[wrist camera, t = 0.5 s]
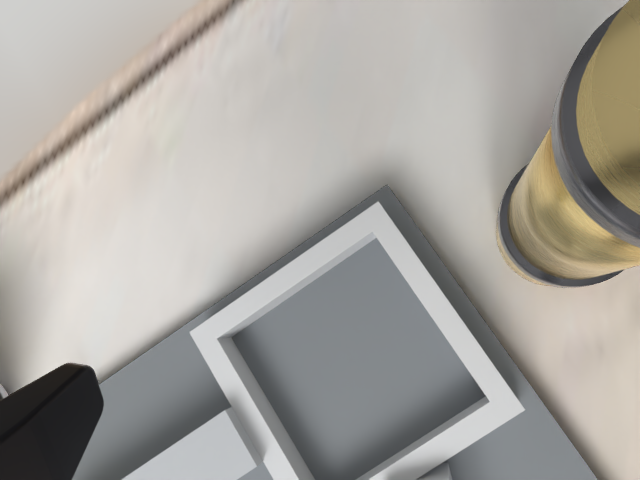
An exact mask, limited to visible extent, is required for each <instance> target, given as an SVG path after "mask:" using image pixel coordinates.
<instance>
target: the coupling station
mask: <svg viewBox="0 0 640 480" xmlns="http://www.w3.org/2000/svg"><path fill="white" fill-rule="evenodd" d="M99 387H100V390H101V393H102V396H103V399H104V407H103V412H102V415H101V417H100V419H99V422H98V424H97V426H96V428H95V430H94V433H93V435H92V437H91V439H90V441H89V444H88V446H87V448H86V450H85V452H84V455H83V457H82V459H81V461H80V463H79V466H78V468H77V470H76V472H75V474H74V476H73V479H72V480H598V479H597V478H596V476H595V475H594V473H593V472H592V471H591V469H590V468H589V466H588V465H587V464H586V462H585V461H584V459H583V458H582V457H581V455H580V454H579V452H578V451H577V450H576V448H575V447H574V445H573V444H572V443H571V441H570V440H569V438H568V437H567V436H566V434H565V433H564V431H563V430H562V429H561V427H560V426H559V424H558V423H557V422H556V420H555V419H554V417H553V416H552V415H551V413H550V412H549V410H548V409H547V408H546V406H545V405H544V403H543V402H542V401H541V399H540V398H539V396H538V395H537V394H536V392H535V391H534V389H533V388H532V387H531V385H530V384H529V382H528V381H527V380H526V378H525V377H524V375H523V374H522V373H521V371H520V370H519V368H518V367H517V366H516V364H515V363H514V361H513V360H512V359H511V357H510V356H509V354H508V353H507V352H506V350H505V349H504V347H503V346H502V345H501V343H500V342H499V340H498V339H497V338H496V336H495V335H494V333H493V332H492V331H491V329H490V328H489V326H488V325H487V324H486V322H485V321H484V319H483V318H482V317H481V315H480V314H479V312H478V311H477V310H476V308H475V307H474V305H473V304H472V303H471V301H470V300H469V298H468V297H467V296H466V294H465V293H464V291H463V290H462V289H461V287H460V286H459V284H458V283H457V282H456V280H455V279H454V277H453V276H452V275H451V273H450V272H449V270H448V269H447V268H446V266H445V265H444V263H443V262H442V261H441V259H440V258H439V256H438V255H437V254H436V252H435V251H434V249H433V248H432V247H431V245H430V244H429V242H428V241H427V240H426V238H425V237H424V235H423V234H422V233H421V231H420V230H419V228H418V227H417V226H416V224H415V223H414V221H413V220H412V219H411V217H410V216H409V214H408V213H407V212H406V210H405V209H404V207H403V206H402V205H401V203H400V202H399V200H398V199H397V198H396V196H395V195H394V193H393V192H392V191H391V189H390V188H389V186H388V185H386V186H384V187H383V188H381V189H380V190H378V191H377V192H376V193H374V194H373V195H371V196H370V197H368V198H367V199H365V200H364V201H363V202H361V203H360V204H358V205H357V206H355V207H354V208H352V209H351V210H350V211H348V212H347V213H345V214H344V215H342V216H341V217H340V218H338V219H337V220H335V221H334V222H332V223H331V224H329V225H328V226H327V227H325V228H324V229H322V230H321V231H319V232H318V233H316V234H315V235H314V236H312V237H311V238H309V239H308V240H306V241H305V242H304V243H302V244H301V245H299V246H298V247H296V248H295V249H293V250H292V251H291V252H289V253H288V254H286V255H285V256H283V257H282V258H280V259H279V260H278V261H276V262H275V263H273V264H272V265H270V266H269V267H268V268H266V269H265V270H263V271H262V272H260V273H259V274H257V275H256V276H255V277H253V278H252V279H250V280H249V281H247V282H246V283H244V284H243V285H242V286H240V287H239V288H237V289H236V290H234V291H233V292H232V293H230V294H229V295H227V296H226V297H224V298H223V299H221V300H220V301H219V302H217V303H216V304H214V305H213V306H211V307H210V308H208V309H207V310H206V311H204V312H203V313H201V314H200V315H198V316H197V317H196V318H194V319H193V320H191V321H190V322H188V323H187V324H185V325H184V326H183V327H181V328H180V329H178V330H177V331H175V332H174V333H172V334H171V335H170V336H168V337H167V338H165V339H164V340H162V341H161V342H160V343H158V344H157V345H155V346H154V347H152V348H151V349H149V350H148V351H147V352H145V353H144V354H142V355H141V356H139V357H138V358H137V359H135V360H134V361H132V362H131V363H129V364H128V365H126V366H125V367H124V368H122V369H121V370H119V371H118V372H116V373H115V374H113V375H112V376H111V377H109V378H108V379H106V380H105V381H103V382H102V383H101V384H99Z"/></svg>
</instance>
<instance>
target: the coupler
mask: <svg viewBox="0 0 640 480" xmlns="http://www.w3.org/2000/svg"><path fill="white" fill-rule="evenodd" d="M496 234H497V243H498V247H499V250H500V252H501V254H502V256H503V258H504V260H505V261H506V263H507V264H508V265H509V266H510V267H511V269H513V270H514V271H515V272H516V273H517V274H518V275H520V276H521V277H523V278H525V279H527V280H528V281H531V282H534V283H536V284H540V285H546V286H555V287H562V288H576V287H584V286H588V285H593V284H596V283H600V282H603V281H606V280H608V279H610V278H612V277H614V276H616V275H618V274H619V273H620V272H622V271H623V270H624V269H627V268H631V267H635V266H639V265H640V0H629V1H628V2H627V3H626V4H625V5H624V6H623V7H622V8H620V9H619V10H618V11H617V12H615V13H614V14H613V15H611V16H610V17H609V18H608V19H606V20H605V21H604V22H603V23H602V25H601V26H600V27H599V28H598V29H597V30H596V31H595V32H594V33H593V34H592V35H591V37H590V38H589V39H588V41H587V42H586V43H585V45H584V46H583V48H582V49H581V51H580V53H579V55H578V56H577V58H576V60H575V62H574V64H573V66H572V67H571V69H570V71H569V73H568V75H567V77H566V79H565V81H564V83H563V84H562V87H561V89H560V92H559V94H558V97H557V99H556V103H555V107H554V111H553V116H552V125H551V127H550V129H549V130H548V132H547V134H546V136H545V137H544V139H543V141H542V142H541V144H540V146H539V147H538V149H537V151H536V153H535V154H534V156H533V158H532V159H531V161H530V163H529V164H528V165H526V166H525V167H524V168H523V169H522V170H521V171H520V172H519V173H518V174H517V175H516V176H515V177H514V179H513V180H512V181H511V183H510V185H509V186H508V188H507V190H506V192H505V194H504V196H503V198H502V201H501V203H500V207H499V211H498V222H497V230H496Z"/></svg>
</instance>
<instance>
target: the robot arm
mask: <svg viewBox="0 0 640 480" xmlns="http://www.w3.org/2000/svg"><path fill="white" fill-rule="evenodd" d="M103 407H104V399H103V396H102V393H101V390H100V387H99V384H98V381H97V377H96V374H95V372H94V370H93V368H91V367H90V366H88V365H83V364H76V363H66V364H64V365H62V366H60V367H58V368H56V369H55V370H53V371H51V372H49V373H48V374H46V375H44V376H42V377H40V378H39V379H37V380H35V381H33V382H32V383H30V384H28V385H26V386H24V387H23V388H21V389H19V390H17V391H16V392H14V393H12V394H10V395H9V396H7V397H5V398H3V399H1V400H0V480H72V479H73V476H74V474H75V472H76V470H77V468H78V466H79V463H80V461H81V459H82V457H83V455H84V452H85V450H86V448H87V446H88V444H89V441H90V439H91V437H92V435H93V433H94V430H95V428H96V426H97V424H98V422H99V419H100V417H101V415H102V412H103Z"/></svg>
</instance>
